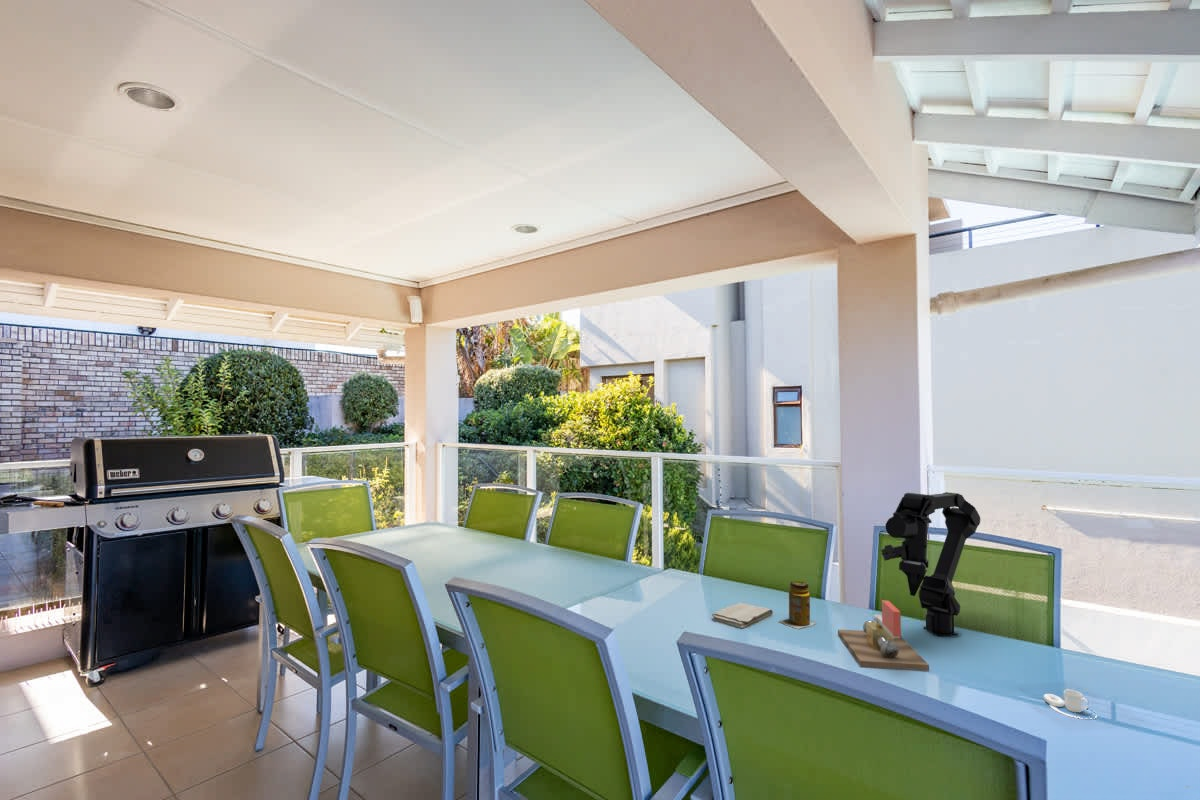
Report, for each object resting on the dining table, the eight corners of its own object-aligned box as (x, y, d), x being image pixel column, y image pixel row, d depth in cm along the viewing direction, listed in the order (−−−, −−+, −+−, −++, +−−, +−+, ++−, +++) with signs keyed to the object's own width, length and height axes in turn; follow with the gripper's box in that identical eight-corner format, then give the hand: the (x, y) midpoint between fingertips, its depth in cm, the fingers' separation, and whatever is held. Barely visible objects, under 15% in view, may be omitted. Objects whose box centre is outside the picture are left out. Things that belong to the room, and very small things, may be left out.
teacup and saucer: (1036, 702, 128) (1036, 683, 129) (1070, 700, 129) (1070, 682, 129) (1072, 722, 120) (1071, 702, 120) (1108, 721, 120) (1107, 701, 120)
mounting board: (838, 634, 167) (837, 629, 167) (897, 637, 165) (897, 632, 165) (860, 667, 145) (860, 660, 146) (929, 671, 143) (929, 664, 143)
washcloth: (709, 621, 179) (709, 611, 179) (740, 608, 192) (740, 598, 192) (744, 631, 171) (743, 621, 171) (773, 616, 184) (773, 607, 184)
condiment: (816, 624, 176) (815, 584, 176) (798, 629, 171) (797, 588, 172) (796, 617, 182) (795, 578, 183) (778, 622, 178) (777, 582, 178)
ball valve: (860, 634, 163) (860, 611, 164) (880, 635, 163) (880, 612, 163) (879, 657, 148) (879, 631, 148) (901, 658, 147) (900, 632, 147)
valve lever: (872, 618, 157) (872, 592, 157) (883, 618, 157) (883, 593, 157) (891, 639, 142) (890, 611, 142) (903, 640, 141) (903, 612, 142)
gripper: (887, 532, 176) (884, 584, 174) (880, 535, 160) (876, 593, 159) (929, 538, 170) (927, 592, 169) (926, 542, 154) (923, 602, 153)
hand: (912, 595), depth 162 cm, fingers closed
